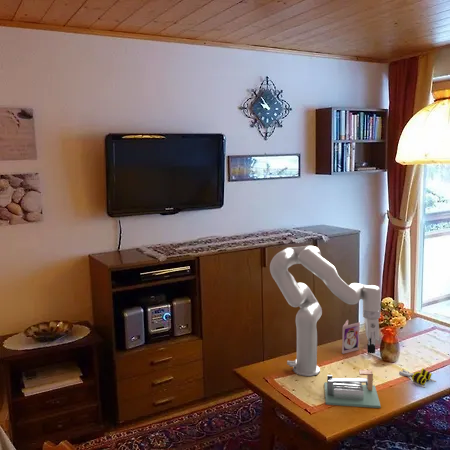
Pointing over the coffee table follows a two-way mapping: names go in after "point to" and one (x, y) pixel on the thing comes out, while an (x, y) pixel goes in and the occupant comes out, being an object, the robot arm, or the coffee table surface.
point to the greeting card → (350, 337)
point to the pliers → (406, 373)
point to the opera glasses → (421, 376)
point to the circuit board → (368, 399)
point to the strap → (350, 380)
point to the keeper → (368, 377)
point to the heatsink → (344, 390)
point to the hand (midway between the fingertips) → (371, 352)
